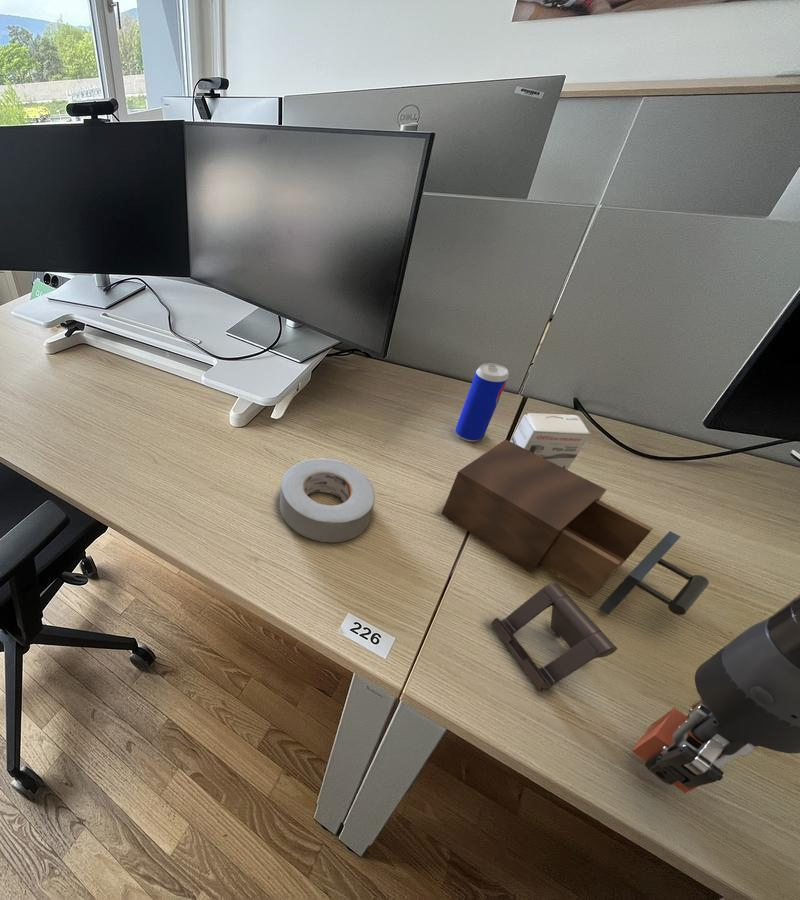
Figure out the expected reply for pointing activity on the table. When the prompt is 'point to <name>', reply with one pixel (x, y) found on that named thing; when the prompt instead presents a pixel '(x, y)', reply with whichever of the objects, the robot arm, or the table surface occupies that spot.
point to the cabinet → (518, 502)
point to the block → (661, 738)
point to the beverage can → (481, 401)
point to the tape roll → (321, 518)
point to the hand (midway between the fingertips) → (669, 756)
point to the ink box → (552, 436)
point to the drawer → (614, 557)
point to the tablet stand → (564, 623)
